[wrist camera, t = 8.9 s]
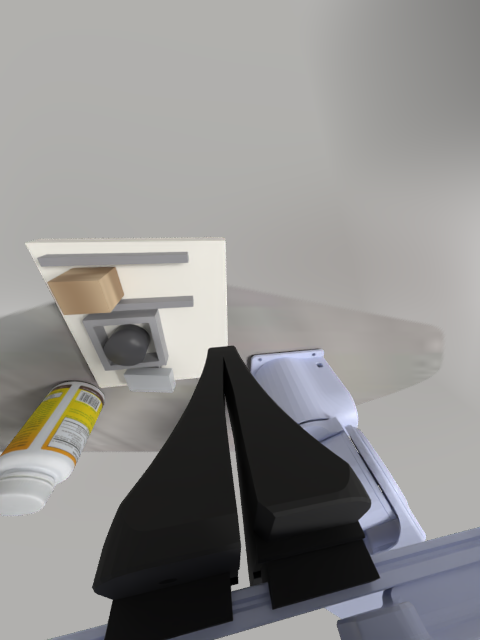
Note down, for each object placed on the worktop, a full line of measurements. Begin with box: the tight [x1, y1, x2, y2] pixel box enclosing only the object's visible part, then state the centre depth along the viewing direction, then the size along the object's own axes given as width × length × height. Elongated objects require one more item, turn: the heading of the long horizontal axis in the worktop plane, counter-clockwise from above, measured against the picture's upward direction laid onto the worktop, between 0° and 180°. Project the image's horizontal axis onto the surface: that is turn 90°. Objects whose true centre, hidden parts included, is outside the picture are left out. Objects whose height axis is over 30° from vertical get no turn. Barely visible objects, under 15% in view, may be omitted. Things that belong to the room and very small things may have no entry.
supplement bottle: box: [0, 381, 105, 516], centre depth 20 cm, size 6×6×10 cm
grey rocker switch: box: [124, 368, 176, 392], centre depth 20 cm, size 4×2×1 cm, turn 89°
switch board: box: [25, 237, 228, 388], centre depth 19 cm, size 14×15×3 cm
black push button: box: [104, 324, 150, 366], centre depth 18 cm, size 3×3×2 cm
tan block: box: [47, 267, 124, 315], centre depth 15 cm, size 3×2×3 cm
